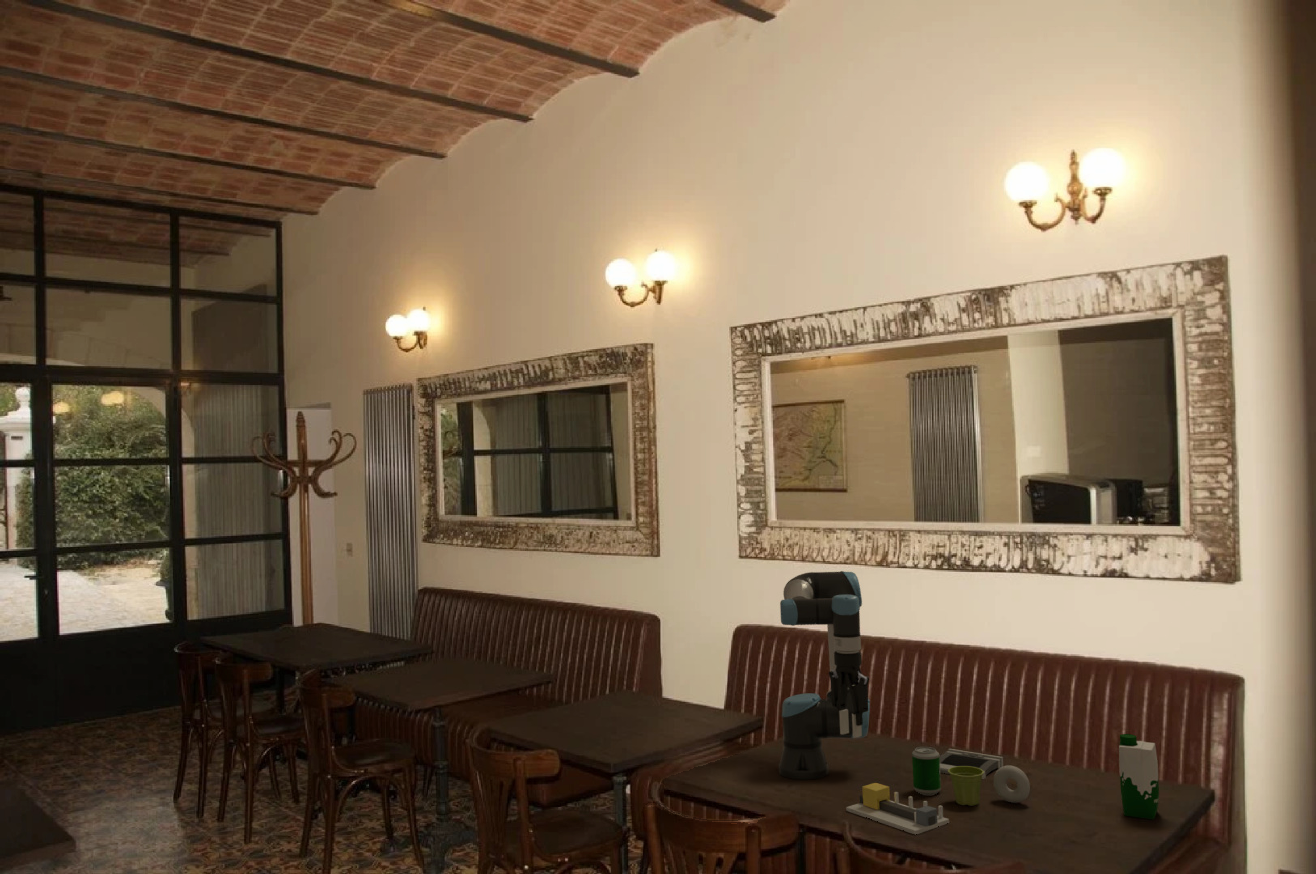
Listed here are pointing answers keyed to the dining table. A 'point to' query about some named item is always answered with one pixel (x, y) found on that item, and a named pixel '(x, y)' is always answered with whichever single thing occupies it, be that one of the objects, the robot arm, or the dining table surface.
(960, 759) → the alarm clock
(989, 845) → the dining table surface
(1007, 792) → the donut
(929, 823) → the white pegged slab
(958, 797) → the plant pot
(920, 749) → the soda can
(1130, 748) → the milk carton
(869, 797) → the yellow sliding cube
